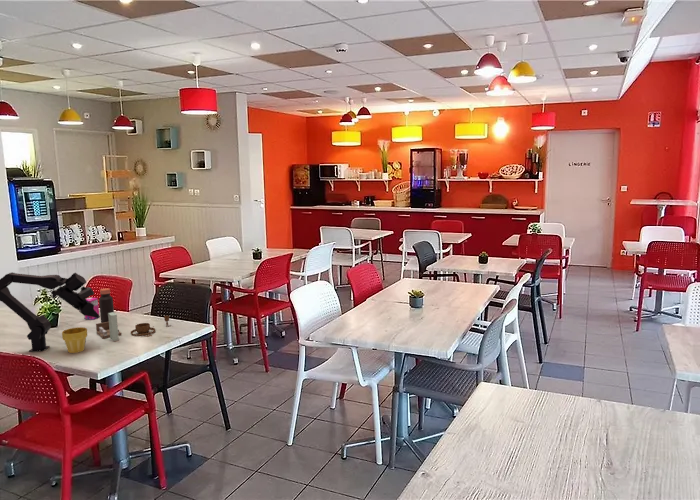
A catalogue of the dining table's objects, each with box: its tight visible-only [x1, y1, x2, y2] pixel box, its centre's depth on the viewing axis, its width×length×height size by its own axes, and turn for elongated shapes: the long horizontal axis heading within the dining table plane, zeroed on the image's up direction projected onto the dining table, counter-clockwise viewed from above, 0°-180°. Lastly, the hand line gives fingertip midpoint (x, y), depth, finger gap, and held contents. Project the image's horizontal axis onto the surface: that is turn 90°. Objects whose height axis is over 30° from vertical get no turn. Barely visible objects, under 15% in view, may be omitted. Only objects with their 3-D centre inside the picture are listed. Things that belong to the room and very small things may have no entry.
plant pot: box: [61, 326, 88, 354], centre depth 241 cm, size 10×10×10 cm
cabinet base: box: [95, 322, 123, 340], centre depth 266 cm, size 12×9×5 cm
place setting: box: [130, 315, 170, 338], centre depth 269 cm, size 18×20×6 cm
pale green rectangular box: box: [108, 311, 120, 342], centre depth 257 cm, size 6×2×13 cm, turn 38°
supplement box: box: [83, 297, 100, 321], centre depth 295 cm, size 6×6×12 cm
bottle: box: [98, 287, 115, 323], centre depth 280 cm, size 7×7×20 cm
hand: (96, 315), depth 252 cm, fingers open, 9 cm apart
